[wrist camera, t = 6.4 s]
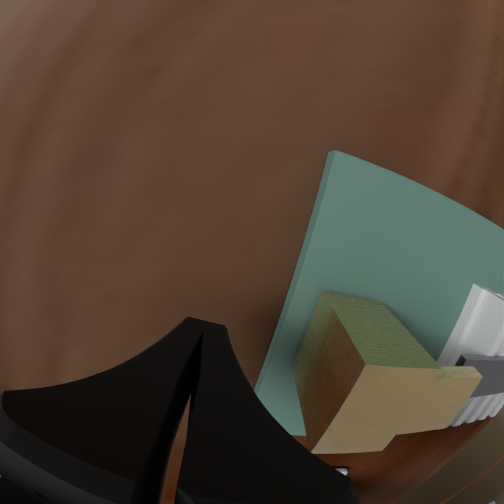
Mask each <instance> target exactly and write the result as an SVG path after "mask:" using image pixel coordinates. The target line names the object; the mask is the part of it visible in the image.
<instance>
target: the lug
mask: <svg viewBox="0 0 504 504" xmlns="http://www.w3.org/2000/svg"><path fill="white" fill-rule="evenodd" d="M292 369H293V374H294V378H295V383H296V388H297V392H298V397H299V402H300V407H301V412H302V416H303V421H304V426H305V431H306V436H307V441H308V446H309V451H310V452H311V453H314V454H332V453H358V452H372V451H382V450H383V449H384V448H385V447H386V446H387V445H388V444H389V442H390V441H391V440H392V439H393V438H394V436H395V435H398V434H407V433H415V432H422V431H429V430H435V429H441V428H446V427H448V426H449V424H450V423H451V422H452V421H453V419H454V418H455V417H456V415H457V414H458V413H459V411H460V410H461V409H462V407H463V406H464V405H465V403H466V402H467V400H468V399H469V397H470V396H471V395H472V393H473V392H474V390H475V389H476V387H477V385H478V384H479V382H480V381H481V379H482V378H483V376H482V375H481V374H480V373H479V372H478V371H477V370H476V369H475V368H474V367H473V366H439V365H438V364H437V363H436V361H435V360H434V359H433V358H432V357H431V356H430V355H429V354H428V352H427V351H426V350H425V349H424V348H423V347H422V346H421V345H420V343H419V342H418V341H417V340H416V339H415V338H414V337H413V336H412V335H411V333H410V332H409V331H408V330H407V329H406V328H405V327H404V326H403V325H402V324H401V323H400V322H399V320H398V319H397V318H396V317H395V316H394V315H393V314H392V313H391V312H390V311H389V310H388V309H387V308H386V307H385V306H384V305H383V304H382V303H381V302H376V301H372V300H367V299H362V298H358V297H353V296H348V295H344V294H339V293H334V292H330V291H325V290H321V293H320V296H319V298H318V301H317V304H316V307H315V309H314V312H313V315H312V317H311V320H310V323H309V325H308V328H307V330H306V333H305V336H304V338H303V341H302V343H301V346H300V348H299V351H298V353H297V355H296V358H295V360H294V363H293V365H292Z"/></svg>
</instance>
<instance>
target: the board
mask: <svg viewBox="0 0 504 504" xmlns="http://www.w3.org/2000/svg"><path fill="white" fill-rule="evenodd" d="M321 290H325V291H330V292H334V293H339V294H344V295H348V296H353V297H358V298H362V299H367V300H372V301H376V302H381V303H382V304H383V305H384V306H385V307H386V308H387V309H388V310H389V311H390V312H391V313H392V314H393V315H394V316H395V317H396V318H397V319H398V320H399V322H400V323H401V324H402V325H403V326H404V327H405V328H406V329H407V330H408V331H409V332H410V333H411V335H412V336H413V337H414V338H415V339H416V340H417V341H418V342H419V343H420V345H421V346H422V347H423V348H424V349H425V350H426V351H427V352H428V354H429V355H430V356H431V357H432V358H433V359H434V360H435V361H436V363H437V364H438V365H439V366H455V364H456V362H457V361H458V359H459V357H460V355H461V354H466V355H487V356H504V229H502V228H500V227H499V226H497V225H496V224H494V223H492V222H491V221H489V220H487V219H486V218H484V217H482V216H481V215H479V214H477V213H475V212H474V211H472V210H470V209H468V208H466V207H464V206H463V205H461V204H459V203H457V202H455V201H453V200H451V199H449V198H447V197H446V196H444V195H442V194H440V193H438V192H436V191H433V190H431V189H429V188H427V187H425V186H423V185H421V184H419V183H417V182H414V181H412V180H410V179H408V178H405V177H403V176H401V175H399V174H396V173H394V172H392V171H389V170H387V169H384V168H382V167H379V166H377V165H374V164H372V163H369V162H367V161H364V160H361V159H359V158H356V157H353V156H351V155H348V154H345V153H342V152H339V151H337V150H334V151H330V152H328V156H327V160H326V164H325V168H324V172H323V175H322V179H321V183H320V186H319V190H318V194H317V197H316V201H315V205H314V208H313V212H312V215H311V219H310V222H309V226H308V229H307V232H306V236H305V239H304V243H303V246H302V249H301V253H300V256H299V259H298V262H297V266H296V269H295V272H294V275H293V278H292V281H291V285H290V288H289V291H288V294H287V297H286V300H285V303H284V306H283V309H282V312H281V315H280V318H279V321H278V324H277V327H276V330H275V333H274V336H273V339H272V342H271V344H270V347H269V350H268V353H267V356H266V359H265V361H264V364H263V367H262V370H261V372H260V375H259V378H258V381H257V383H256V386H255V389H254V392H255V393H256V395H257V396H258V398H259V399H260V401H261V402H262V403H263V405H264V406H265V407H266V409H267V410H268V411H269V412H270V414H271V415H272V416H273V417H274V418H275V419H276V420H277V421H278V422H279V424H280V425H281V426H282V427H283V428H284V429H285V430H286V431H287V432H288V433H289V434H290V435H303V436H306V431H305V426H304V421H303V416H302V412H301V407H300V402H299V397H298V392H297V388H296V383H295V378H294V374H293V369H292V365H293V363H294V360H295V358H296V355H297V353H298V351H299V348H300V346H301V343H302V341H303V338H304V336H305V333H306V330H307V328H308V325H309V323H310V320H311V317H312V315H313V312H314V309H315V307H316V304H317V301H318V298H319V296H320V293H321ZM503 405H504V393H499V394H493V395H487V396H480V397H473V398H469V399H468V400H467V402H466V403H465V405H464V406H463V407H462V409H461V410H460V411H459V413H458V414H457V415H456V417H455V418H454V419H453V421H452V422H451V423H450V424H449V426H458V425H461V424H462V423H471V422H474V421H475V420H483V419H485V418H486V417H487V416H488V415H489V416H490V417H493V416H495V415H496V414H497V413H498V411H499V410H500V409H501V407H502V406H503ZM441 429H443V428H441ZM437 430H438V429H437Z"/></svg>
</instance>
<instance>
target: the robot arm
mask: <svg viewBox="0 0 504 504" xmlns="http://www.w3.org/2000/svg"><path fill="white" fill-rule="evenodd" d="M190 394H191V399H190V408H189V418H188V428H187V439H186V444H185V449H184V454H183V459H182V463H181V468H180V473H179V478H178V483H177V489H176V495H175V501H174V504H360V503H359V499H358V496H357V493H356V491H355V488H354V486H353V484H352V481H351V479H350V478H349V477H348V476H346V474H347V473H348V472H347V469H345V468H340V469H335V468H333V467H332V466H330V465H328V464H327V463H325V462H324V461H322V460H321V459H319V458H318V457H317V456H315V455H314V454H313V453H311V452H310V451H309V450H308V449H306V448H305V447H304V446H303V445H301V444H300V443H299V442H298V441H297V440H296V439H295V438H293V437H292V436H291V435H290V434H289V433H288V432H287V431H286V430H285V429H284V428H283V427H282V426H281V425H280V424H279V422H278V421H277V420H276V419H275V418H274V417H273V416H272V415H271V414H270V412H269V411H268V410H267V409H266V407H265V406H264V405H263V403H262V402H261V401H260V399H259V398H258V396H257V395H256V393H255V392H254V390H253V389H252V387H251V386H250V384H249V382H248V380H247V379H246V377H245V375H244V373H243V371H242V369H241V367H240V365H239V363H238V361H237V358H236V356H235V354H234V351H233V349H232V346H231V343H230V340H229V336H228V332H227V328H226V327H225V325H220V324H216V323H212V322H207V321H203V320H199V319H195V318H191V317H187V318H185V319H184V320H183V321H182V322H181V323H180V324H179V325H178V326H176V327H175V328H174V329H173V330H172V331H171V332H169V333H168V334H167V335H165V336H164V337H163V338H162V339H160V340H159V341H158V342H156V343H155V344H153V345H152V346H150V347H149V348H147V349H146V350H144V351H143V352H141V353H140V354H138V355H136V356H135V357H133V358H131V359H129V360H128V361H126V362H124V363H122V364H120V365H118V366H116V367H113V368H111V369H109V370H106V371H104V372H101V373H98V374H96V375H93V376H90V377H87V378H84V379H81V380H77V381H73V382H69V383H65V384H61V385H56V386H50V387H44V388H36V389H25V390H10V391H4V392H3V393H2V394H1V395H0V474H1V476H2V477H1V478H0V504H160V499H161V494H162V489H163V484H164V479H165V475H166V470H167V466H168V461H169V456H170V452H171V449H172V445H173V442H174V439H175V436H176V433H177V431H178V428H179V425H180V422H181V419H182V417H183V414H184V411H185V408H186V405H187V402H188V400H189V397H190ZM489 504H496V503H495V502H494V501H492V502H490V503H489Z"/></svg>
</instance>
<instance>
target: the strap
mask: <svg viewBox="0 0 504 504" xmlns="http://www.w3.org/2000/svg"><path fill="white" fill-rule="evenodd" d="M455 366H473V367H474V368H475V369H476V370H477V371H478V372H479V373H480V374H481V375H482V376H483V378H482V379H481V381H480V382H479V384H478V385H477V387H476V389H475V390H474V392H473V393H472V395H471V396H470V397H469V398H473V397H480V396H487V395H493V394H499V393H504V356H487V355H466V354H461V355H460V357H459V359H458V361H457V362H456V364H455Z"/></svg>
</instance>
